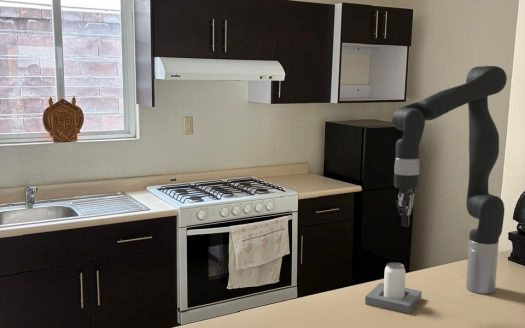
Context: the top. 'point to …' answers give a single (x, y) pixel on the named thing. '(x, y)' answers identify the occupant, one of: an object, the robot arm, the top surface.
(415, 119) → the robot arm
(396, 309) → the socket plate
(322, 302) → the top surface
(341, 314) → the top surface
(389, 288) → the can
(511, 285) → the top surface
